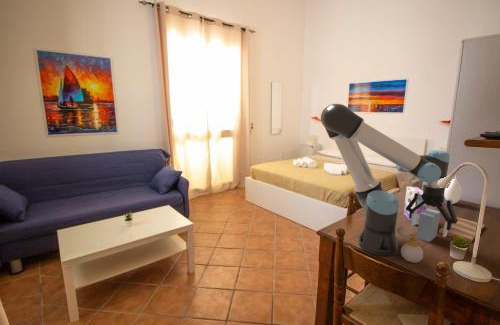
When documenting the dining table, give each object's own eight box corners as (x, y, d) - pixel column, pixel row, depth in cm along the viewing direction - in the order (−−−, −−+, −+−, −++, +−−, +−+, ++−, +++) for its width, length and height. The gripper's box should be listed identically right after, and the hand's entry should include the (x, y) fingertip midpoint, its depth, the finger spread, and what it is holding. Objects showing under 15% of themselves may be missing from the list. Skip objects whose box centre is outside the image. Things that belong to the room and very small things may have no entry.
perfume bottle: (420, 268, 96) (424, 239, 93) (391, 259, 102) (394, 231, 99) (423, 259, 101) (427, 231, 99) (395, 251, 108) (399, 224, 105)
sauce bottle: (449, 205, 154) (453, 176, 151) (440, 201, 162) (444, 173, 158) (462, 205, 154) (467, 176, 150) (452, 201, 162) (457, 173, 158)
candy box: (425, 226, 129) (430, 195, 126) (412, 225, 130) (416, 194, 127) (414, 214, 142) (418, 186, 139) (402, 214, 143) (406, 185, 140)
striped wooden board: (470, 242, 113) (471, 240, 113) (438, 232, 123) (439, 230, 122) (484, 226, 128) (484, 224, 127) (454, 218, 137) (454, 216, 137)
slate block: (436, 235, 120) (440, 211, 117) (429, 242, 114) (433, 216, 112) (424, 231, 123) (427, 208, 121) (416, 237, 118) (420, 213, 115)
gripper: (472, 190, 106) (463, 238, 111) (407, 178, 125) (402, 219, 130) (467, 194, 102) (458, 244, 106) (401, 181, 121) (396, 223, 125)
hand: (427, 230), depth 118 cm, fingers open, 12 cm apart
